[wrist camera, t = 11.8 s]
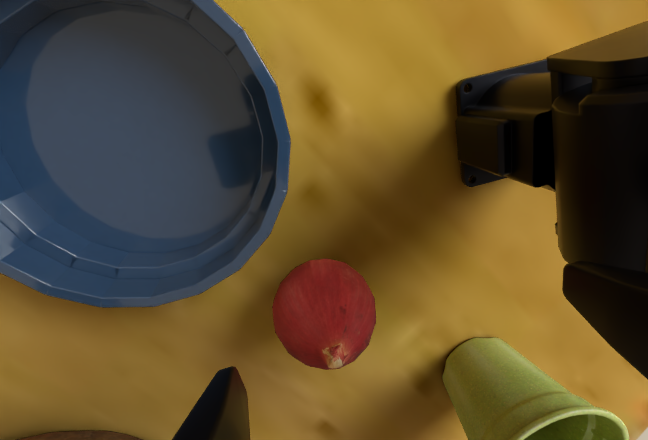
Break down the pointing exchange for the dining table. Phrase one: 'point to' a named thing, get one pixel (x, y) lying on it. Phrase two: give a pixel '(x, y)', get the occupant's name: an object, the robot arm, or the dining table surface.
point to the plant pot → (518, 398)
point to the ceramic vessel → (82, 436)
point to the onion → (324, 313)
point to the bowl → (134, 149)
